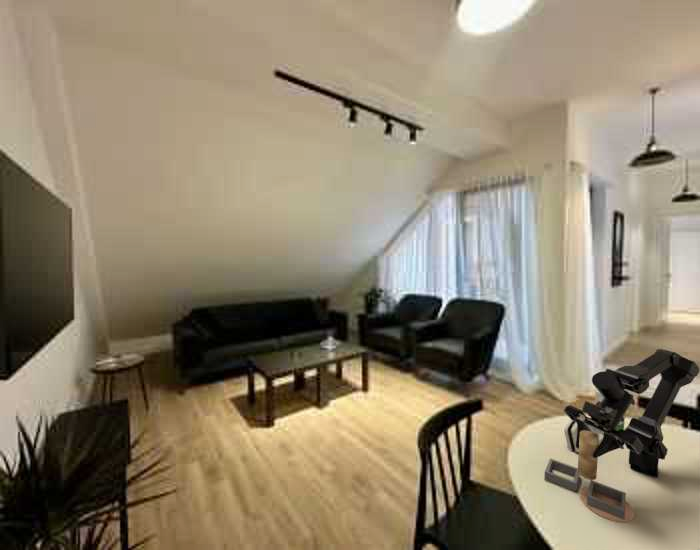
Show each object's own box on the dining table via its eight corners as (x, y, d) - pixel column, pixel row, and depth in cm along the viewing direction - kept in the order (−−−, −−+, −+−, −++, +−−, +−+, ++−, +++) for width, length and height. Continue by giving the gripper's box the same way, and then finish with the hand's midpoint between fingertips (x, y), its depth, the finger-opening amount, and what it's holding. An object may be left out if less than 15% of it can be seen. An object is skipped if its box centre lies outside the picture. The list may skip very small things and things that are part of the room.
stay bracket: (634, 501, 93) (635, 492, 93) (634, 530, 84) (635, 520, 84) (582, 481, 101) (583, 473, 101) (577, 506, 92) (577, 496, 92)
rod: (594, 471, 97) (597, 432, 95) (597, 481, 93) (600, 441, 92) (576, 467, 99) (578, 428, 97) (578, 476, 95) (581, 437, 94)
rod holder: (579, 476, 103) (580, 469, 103) (575, 491, 97) (576, 483, 97) (549, 465, 108) (550, 458, 108) (544, 479, 102) (544, 471, 102)
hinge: (584, 457, 112) (574, 426, 114) (569, 455, 116) (560, 424, 118) (607, 441, 120) (597, 412, 122) (592, 439, 124) (584, 411, 126)
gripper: (569, 379, 103) (541, 421, 101) (639, 407, 86) (608, 458, 83) (585, 398, 107) (559, 439, 104) (655, 429, 90) (626, 479, 87)
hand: (585, 452), depth 95 cm, fingers closed on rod, 4 cm apart
